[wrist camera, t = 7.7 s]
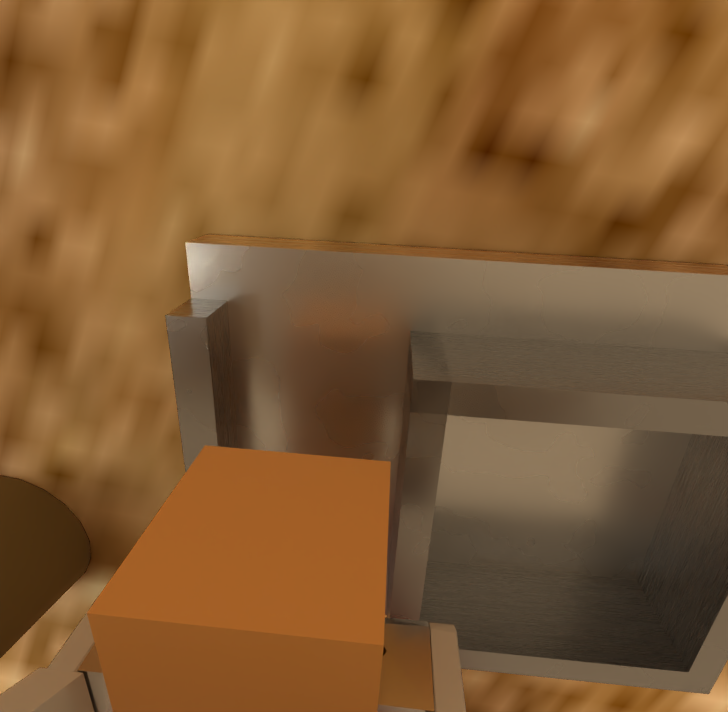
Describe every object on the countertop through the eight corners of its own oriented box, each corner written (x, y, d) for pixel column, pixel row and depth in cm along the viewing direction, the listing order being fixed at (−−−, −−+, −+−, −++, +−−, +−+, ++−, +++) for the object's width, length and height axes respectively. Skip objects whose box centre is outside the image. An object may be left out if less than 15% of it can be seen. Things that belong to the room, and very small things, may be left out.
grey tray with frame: (236, 565, 18) (188, 683, 14) (207, 234, 13) (120, 266, 9) (618, 601, 18) (685, 736, 13) (744, 266, 13) (914, 317, 8)
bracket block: (224, 635, 12) (146, 839, 8) (205, 445, 10) (86, 613, 6) (373, 652, 12) (361, 868, 8) (390, 461, 10) (384, 645, 6)
